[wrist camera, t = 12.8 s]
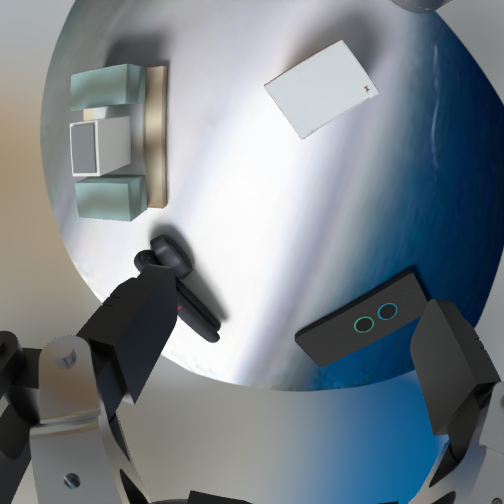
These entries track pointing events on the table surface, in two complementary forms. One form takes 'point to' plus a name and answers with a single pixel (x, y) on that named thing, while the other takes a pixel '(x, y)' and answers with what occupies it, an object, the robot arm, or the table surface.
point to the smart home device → (364, 320)
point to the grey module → (100, 145)
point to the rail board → (142, 139)
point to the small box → (321, 88)
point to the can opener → (180, 285)
